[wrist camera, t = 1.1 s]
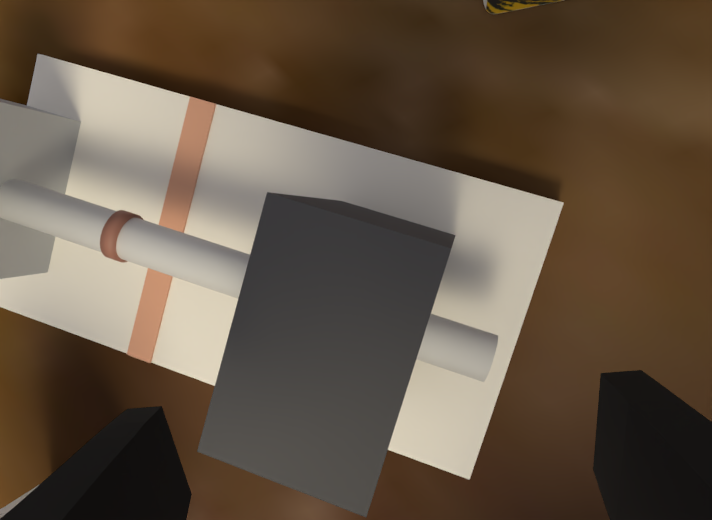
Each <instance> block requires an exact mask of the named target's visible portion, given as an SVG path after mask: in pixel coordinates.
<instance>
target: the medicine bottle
mask: <svg viewBox="0 0 712 520" xmlns="http://www.w3.org/2000/svg"><path fill="white" fill-rule="evenodd" d="M559 1H564V0H483V2H484V7H485V9H486V11H487V12H489V13H490V14H500V13H505V12H510V11H515V10H520V9H525V8H530V7H534V6H539V5H544V4H549V3H554V2H559Z"/></svg>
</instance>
